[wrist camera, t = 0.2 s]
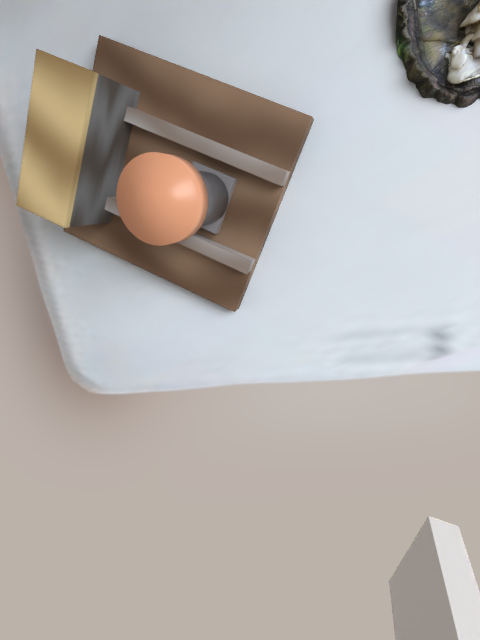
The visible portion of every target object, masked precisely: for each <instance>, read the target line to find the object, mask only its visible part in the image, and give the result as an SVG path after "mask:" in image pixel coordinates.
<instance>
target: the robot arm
mask: <svg viewBox="0 0 480 640" xmlns="http://www.w3.org/2000/svg"><path fill="white" fill-rule="evenodd" d="M389 585H390V593H391V603H392V612H393V621H394V630H395V638H396V640H480V592H479V589H478V586H477V583H476V580H475V577H474V573H473V570H472V567H471V564H470V561H469V558H468V554H467V551H466V548H465V545H464V542H463V539H462V536H461V533H460V529H459V527H458V526H456V525H453V524H450V523H447V522H444V521H441V520H439V519H436V518H433V517H430V516H428V517H427V519H426V521H425V523H424V524H423V526H422V528H421V529H420V531H419V532H418V534H417V536H416V537H415V539H414V541H413V542H412V544H411V546H410V547H409V549H408V551H407V552H406V554H405V556H404V557H403V559H402V561H401V562H400V564H399V566H398V567H397V569H396V570H395V572H394V574H393V576H392V577H391V579H390V580H389Z"/></svg>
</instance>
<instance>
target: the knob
mask: <svg viewBox="0 0 480 640" xmlns="http://www.w3.org/2000/svg"><path fill="white" fill-rule="evenodd" d="M236 182H237V178H234V177H232V176H230V175H227V174H225V173H222V172H220V171H218V170H215V169H213V168H211V167H208V166H206V165H203V164H201V163H199V162H195V161H193V164H191V163H190V162H188V161H187V160H185V159H183V158H181V157H178V156H175V155H170V154H164V153H159V152H148V153H144V154H141V155H139V156H137V157H135V158H134V159H132V160H131V161H130V162H129V163H128V164H127V165H126V166H125V168H124V169H123V171H122V173H121V175H120V177H119V180H118V184H117V190H116V200H117V207H118V210H119V214H120V216H121V219H122V220H123V222H124V224H125V226H126V227H127V228H128V230H129V231H130V232H131V233H132V234H133V235H134V236H135V237H137V238H138V239H139V240H141V241H143V242H145V243H148V244H151V245H157V246H163V245H169V244H173V243H176V242H180V241H183V240H186V239H188V238H189V237H191V236H192V235H194V234H195V233H196V232H197V231H198V230H199V228H200V227H201V228H203V229H206V230H208V231H210V232H212V233H215V234H218V233H219V231H220V228H221V225H222V222H223V220H224V217H225V214H226V211H227V208H228V205H229V202H230V199H231V196H232V193H233V191H234V188H235V185H236Z"/></svg>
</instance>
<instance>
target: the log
mask: <svg viewBox="0 0 480 640" xmlns="http://www.w3.org/2000/svg"><path fill="white" fill-rule="evenodd" d="M396 45H397V51H398V56H399V58H400V59H402V61H403V63H404V66H405V68H406V70H407V78H408V80H409V81H411V82H414V83H415V84H416V88H417V89H418V90H419V92H420V94H421V96H422V97H423V98H436V99H437V101H438V102H442V103H445V104H450V103H452V104H455V105H456V106H457V107H459V108H460V107H462V108H464V107H467V106H469V105H471V104H473V103H474V102H475V101H476V99H478V98H480V0H398V3H397V23H396Z"/></svg>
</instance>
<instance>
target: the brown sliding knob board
mask: <svg viewBox="0 0 480 640" xmlns="http://www.w3.org/2000/svg"><path fill="white" fill-rule="evenodd" d="M313 121H314V119H313V118H312V116H309V115H307V114H304V113H301V112H299V111H296V110H293V109H291V108H288V107H286V106H283V105H280V104H278V103H275V102H273V101H270V100H267V99H265V98H262V97H260V96H257V95H254V94H252V93H249V92H247V91H244V90H241V89H239V88H236V87H234V86H231V85H228V84H226V83H223V82H220V81H218V80H215V79H213V78H210V77H207V76H205V75H202V74H200V73H197V72H194V71H192V70H189V69H187V68H184V67H181V66H179V65H176V64H174V63H171V62H168V61H166V60H163V59H161V58H158V57H155V56H153V55H150V54H147V53H145V52H142V51H140V50H137V49H134V48H132V47H129V46H127V45H124V44H121V43H119V42H116V41H114V40H111V39H108V38H106V37H103V36H101V35H99V39H98V45H97V50H96V56H95V61H94V67H93V71H91V70H89V69H86V68H84V67H81V66H79V65H76V64H74V63H71V62H69V61H66V60H64V59H61V58H59V57H56V56H54V55H51V54H49V53H46V52H44V51H41V50H39V49H36V57H35V64H34V72H33V80H32V88H31V95H30V103H29V111H28V119H27V126H26V134H25V142H24V150H23V157H22V165H21V173H20V181H19V188H18V196H17V204H16V205H17V206H19V207H21V208H23V209H26V210H28V211H30V212H32V213H34V214H36V215H38V216H40V217H42V218H45V219H47V220H49V221H51V222H53V223H55V224H57V225H59V226H62V227H64V231H65V232H67V233H69V234H71V235H73V236H75V237H77V238H79V239H82V240H84V241H86V242H88V243H90V244H92V245H94V246H96V247H98V248H101V249H103V250H105V251H107V252H109V253H111V254H113V255H115V256H117V257H120V258H122V259H124V260H126V261H128V262H130V263H132V264H134V265H136V266H139V267H141V268H143V269H145V270H147V271H149V272H151V273H153V274H155V275H158V276H160V277H162V278H164V279H166V280H168V281H170V282H172V283H174V284H177V285H179V286H181V287H183V288H185V289H187V290H189V291H191V292H193V293H196V294H198V295H200V296H202V297H204V298H206V299H208V300H210V301H212V302H215V303H217V304H219V305H221V306H223V307H225V308H227V309H229V310H231V311H234V312H235V311H236V310H237V309H238V308H239V307H240V304H241V302H242V299H243V297H244V294H245V292H246V289H247V287H248V284H249V282H250V279H251V276H252V274H253V271H254V269H255V266H256V264H257V261H258V259H259V256H260V254H261V251H262V249H263V246H264V244H265V241H266V239H267V236H268V234H269V231H270V229H271V226H272V224H273V221H274V219H275V216H276V214H277V211H278V209H279V206H280V204H281V201H282V199H283V196H284V194H285V191H286V189H287V186H288V183H289V181H290V178H291V176H292V173H293V171H294V168H295V166H296V163H297V161H298V158H299V156H300V153H301V151H302V148H303V146H304V143H305V141H306V138H307V136H308V133H309V131H310V128H311V126H312V123H313ZM148 152H159V153H164V154H170V155H175V156H178V157H181V158H183V159H185V160H187V161H188V162H190V163H191V164H193V161H195V162H199V163H201V164H203V165H206V166H208V167H211V168H213V169H215V170H218V171H220V172H222V173H225V174H227V175H230V176H232V177H234V178H237V182H236V185H235V188H234V191H233V193H232V196H231V199H230V202H229V205H228V208H227V211H226V214H225V217H224V220H223V222H222V225H221V228H220V231H219V233H218V234H215V233H212V232H210V231H208V230H206V229H203V228H201V227H200V228H199V230H198V231H197V232H196V233H195V234H194V235H192V236H191V237H189V238H188V239H186V240H183V241H180V242H176V243H173V244H169V245H163V246H157V245H151V244H148V243H145V242H143V241H141V240H139V239H138V238H137V237H135V236H134V235H133V234H132V233H131V232H130V231H129V230H128V228H127V227H126V226H125V224H124V222H123V220H122V219H121V216H120V214H119V210H118V207H117V200H116V190H117V184H118V180H119V177H120V175H121V173H122V171H123V169H124V168H125V166H126V165H127V164H128V163H129V162H130V161H131V160H132V159H134V158H135V157H137V156H139V155H141V154H144V153H148Z"/></svg>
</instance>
